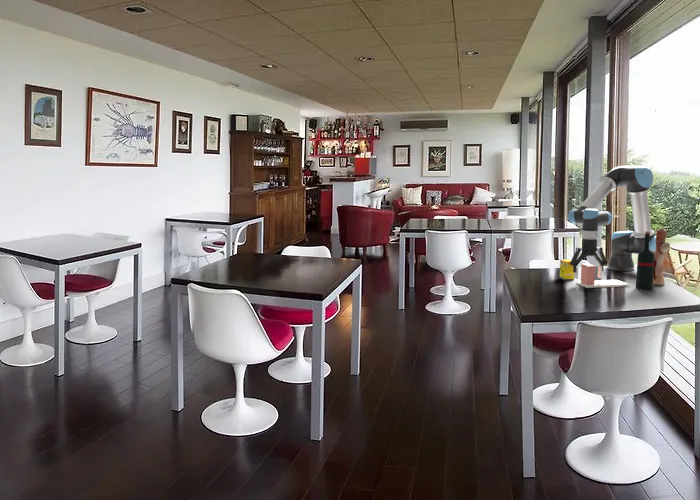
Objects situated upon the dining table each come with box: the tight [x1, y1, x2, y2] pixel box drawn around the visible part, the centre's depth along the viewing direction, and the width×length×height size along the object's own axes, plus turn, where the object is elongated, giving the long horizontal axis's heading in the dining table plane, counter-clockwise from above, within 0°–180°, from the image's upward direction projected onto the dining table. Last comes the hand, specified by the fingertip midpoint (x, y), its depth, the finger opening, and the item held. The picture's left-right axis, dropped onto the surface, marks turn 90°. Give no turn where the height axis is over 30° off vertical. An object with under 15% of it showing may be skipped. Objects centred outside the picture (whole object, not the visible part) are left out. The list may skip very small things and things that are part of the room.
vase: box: [652, 228, 671, 287], centre depth 306 cm, size 10×7×30 cm
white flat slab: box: [595, 279, 630, 288], centre depth 310 cm, size 16×11×1 cm
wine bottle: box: [635, 231, 657, 292], centre depth 297 cm, size 8×10×30 cm
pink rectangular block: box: [575, 263, 600, 289], centre depth 308 cm, size 7×11×11 cm, turn 7°
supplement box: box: [559, 259, 575, 281], centre depth 324 cm, size 6×6×11 cm
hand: (587, 277), depth 308 cm, fingers open, 13 cm apart
